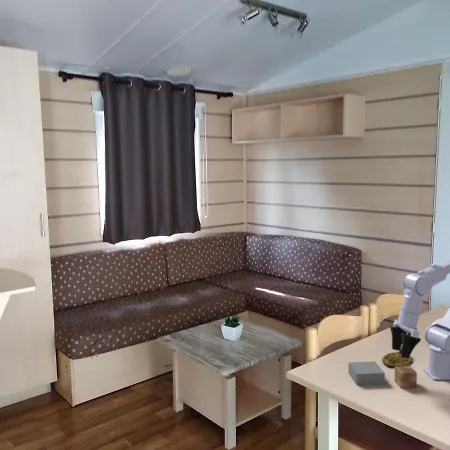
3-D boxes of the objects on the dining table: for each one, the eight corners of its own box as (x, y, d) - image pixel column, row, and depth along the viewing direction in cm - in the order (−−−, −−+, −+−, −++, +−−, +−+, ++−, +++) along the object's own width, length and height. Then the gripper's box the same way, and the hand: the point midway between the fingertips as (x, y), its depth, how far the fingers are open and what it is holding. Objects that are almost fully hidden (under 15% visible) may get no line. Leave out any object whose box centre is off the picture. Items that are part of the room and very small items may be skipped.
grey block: (374, 372, 160) (375, 361, 159) (384, 385, 151) (384, 373, 150) (348, 373, 159) (348, 362, 159) (356, 385, 150) (356, 373, 150)
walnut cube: (410, 380, 153) (410, 366, 152) (416, 388, 148) (416, 372, 147) (394, 381, 153) (394, 366, 152) (400, 388, 148) (400, 373, 147)
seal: (402, 375, 160) (416, 360, 171) (404, 362, 159) (418, 348, 170) (375, 365, 165) (391, 351, 177) (377, 353, 164) (393, 339, 176)
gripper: (389, 304, 156) (379, 344, 156) (407, 314, 141) (396, 358, 142) (410, 308, 156) (400, 348, 157) (429, 319, 142) (419, 363, 142)
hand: (399, 353), depth 149 cm, fingers open, 7 cm apart
